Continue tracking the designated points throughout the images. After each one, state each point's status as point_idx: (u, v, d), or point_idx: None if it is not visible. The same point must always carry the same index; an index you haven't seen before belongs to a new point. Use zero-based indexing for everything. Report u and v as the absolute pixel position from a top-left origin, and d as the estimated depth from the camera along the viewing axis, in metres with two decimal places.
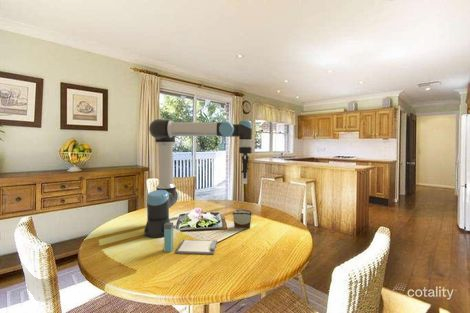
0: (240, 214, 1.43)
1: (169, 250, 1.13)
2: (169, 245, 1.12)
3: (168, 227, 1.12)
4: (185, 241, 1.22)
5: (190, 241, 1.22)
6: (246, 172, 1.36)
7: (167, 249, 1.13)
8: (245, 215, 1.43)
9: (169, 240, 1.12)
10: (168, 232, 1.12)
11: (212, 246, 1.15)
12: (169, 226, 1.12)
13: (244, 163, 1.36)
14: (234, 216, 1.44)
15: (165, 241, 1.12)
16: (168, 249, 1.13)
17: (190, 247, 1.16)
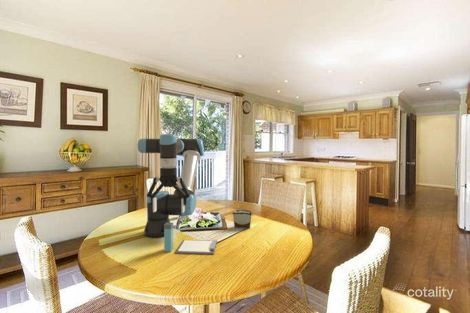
0: (240, 214, 1.43)
1: (169, 250, 1.13)
2: (169, 245, 1.12)
3: (168, 227, 1.12)
4: (185, 241, 1.22)
5: (190, 241, 1.22)
6: (151, 197, 1.12)
7: (167, 249, 1.13)
8: (245, 215, 1.43)
9: (169, 240, 1.12)
10: (168, 232, 1.12)
11: (212, 246, 1.15)
12: (169, 226, 1.12)
13: None
14: (234, 216, 1.44)
15: (165, 241, 1.12)
16: (168, 249, 1.13)
17: (190, 247, 1.16)
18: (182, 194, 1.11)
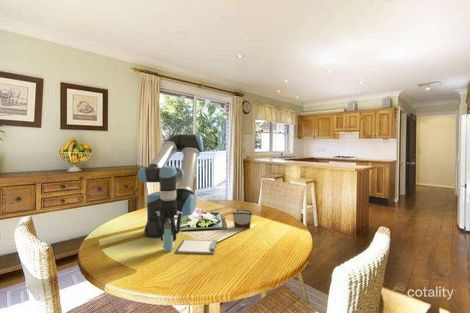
0: (240, 214, 1.43)
1: (169, 250, 1.13)
2: (169, 245, 1.12)
3: (168, 227, 1.12)
4: (185, 241, 1.22)
5: (190, 241, 1.22)
6: (161, 234, 1.13)
7: (167, 249, 1.13)
8: (245, 215, 1.43)
9: (169, 240, 1.12)
10: (168, 232, 1.12)
11: (212, 246, 1.15)
12: (169, 226, 1.12)
13: None
14: (234, 216, 1.44)
15: (165, 241, 1.12)
16: (168, 249, 1.13)
17: (190, 247, 1.16)
18: (173, 230, 1.12)
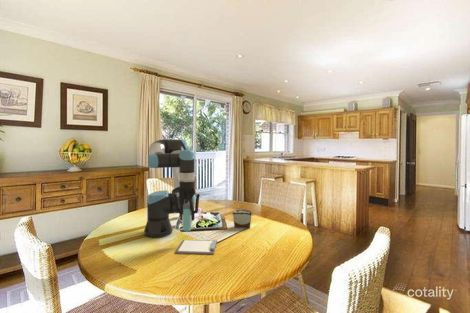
0: (240, 214, 1.43)
1: (188, 229, 1.19)
2: (188, 224, 1.19)
3: (187, 207, 1.19)
4: (185, 241, 1.22)
5: (190, 241, 1.22)
6: (181, 214, 1.20)
7: (186, 228, 1.19)
8: (245, 215, 1.43)
9: (188, 219, 1.19)
10: (187, 212, 1.19)
11: (212, 246, 1.15)
12: (188, 206, 1.19)
13: None
14: (234, 216, 1.44)
15: (184, 220, 1.19)
16: (187, 228, 1.19)
17: (190, 247, 1.16)
18: (192, 210, 1.19)
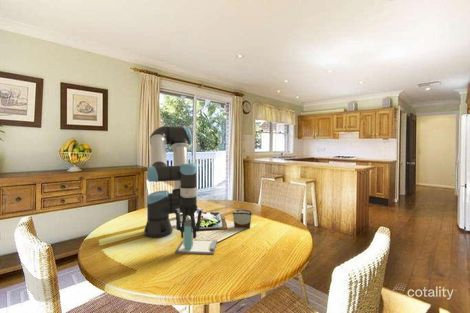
0: (240, 214, 1.43)
1: (189, 247, 1.12)
2: (189, 242, 1.12)
3: (188, 224, 1.11)
4: None
5: None
6: (182, 231, 1.13)
7: (187, 246, 1.12)
8: (245, 215, 1.43)
9: (189, 237, 1.12)
10: (188, 229, 1.12)
11: (212, 246, 1.15)
12: (189, 223, 1.11)
13: None
14: (234, 216, 1.44)
15: (186, 238, 1.12)
16: (188, 246, 1.12)
17: None
18: (194, 227, 1.12)
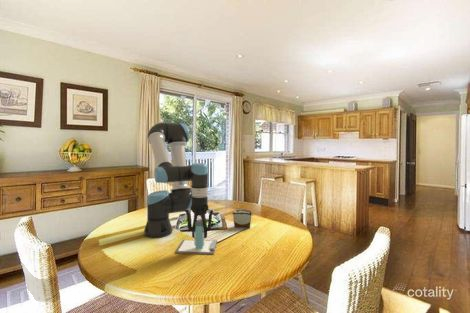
0: (240, 214, 1.43)
1: (200, 247, 1.13)
2: (200, 242, 1.12)
3: (199, 224, 1.12)
4: (185, 241, 1.22)
5: (190, 241, 1.22)
6: (193, 231, 1.13)
7: (198, 246, 1.13)
8: (245, 215, 1.43)
9: (200, 237, 1.12)
10: (199, 229, 1.12)
11: (212, 246, 1.15)
12: (200, 223, 1.12)
13: None
14: (234, 216, 1.44)
15: (197, 238, 1.12)
16: (199, 246, 1.13)
17: (190, 247, 1.16)
18: (205, 227, 1.12)
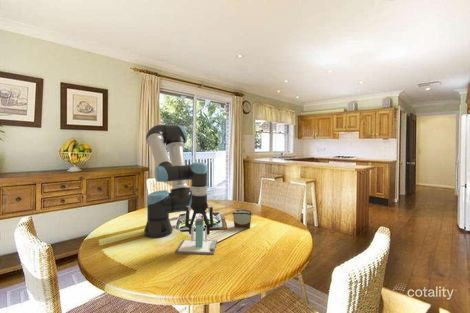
0: (240, 214, 1.43)
1: (200, 246, 1.16)
2: (200, 241, 1.16)
3: (199, 223, 1.15)
4: (185, 241, 1.22)
5: (190, 241, 1.22)
6: (189, 227, 1.16)
7: (198, 245, 1.16)
8: (245, 215, 1.43)
9: (200, 236, 1.15)
10: (199, 228, 1.15)
11: (212, 246, 1.15)
12: (200, 222, 1.15)
13: None
14: (234, 216, 1.44)
15: (197, 236, 1.16)
16: (199, 245, 1.16)
17: (190, 247, 1.16)
18: (207, 224, 1.15)
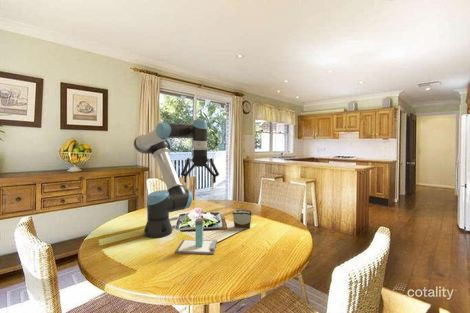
0: (240, 214, 1.43)
1: (200, 246, 1.16)
2: (200, 241, 1.16)
3: (199, 223, 1.15)
4: (185, 241, 1.22)
5: (190, 241, 1.22)
6: None
7: (198, 245, 1.16)
8: (245, 215, 1.43)
9: (200, 236, 1.15)
10: (199, 228, 1.15)
11: (212, 246, 1.15)
12: (200, 222, 1.15)
13: None
14: (234, 216, 1.44)
15: (197, 236, 1.16)
16: (199, 245, 1.16)
17: (190, 247, 1.16)
18: (212, 173, 1.26)
